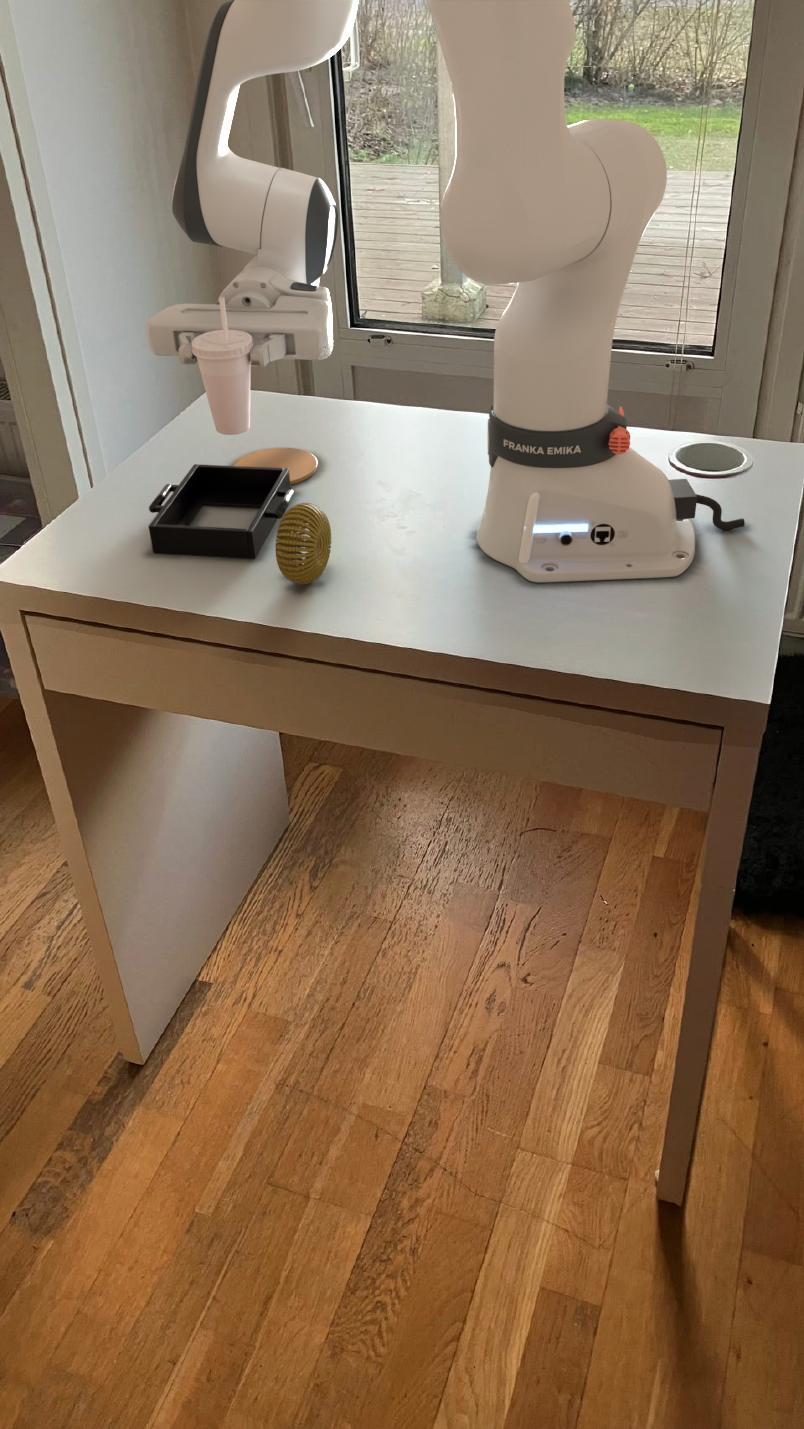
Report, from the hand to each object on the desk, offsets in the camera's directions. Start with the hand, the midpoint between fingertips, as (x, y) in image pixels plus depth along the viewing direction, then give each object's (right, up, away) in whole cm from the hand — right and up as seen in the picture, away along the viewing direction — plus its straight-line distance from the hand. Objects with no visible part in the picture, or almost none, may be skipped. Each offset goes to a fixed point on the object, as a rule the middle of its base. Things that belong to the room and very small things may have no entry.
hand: (221, 358), depth 123 cm
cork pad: (+4, -8, +18) cm, 20 cm away
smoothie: (0, -6, +6) cm, 8 cm away
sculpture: (+9, -23, -3) cm, 25 cm away
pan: (-1, -16, +7) cm, 17 cm away
